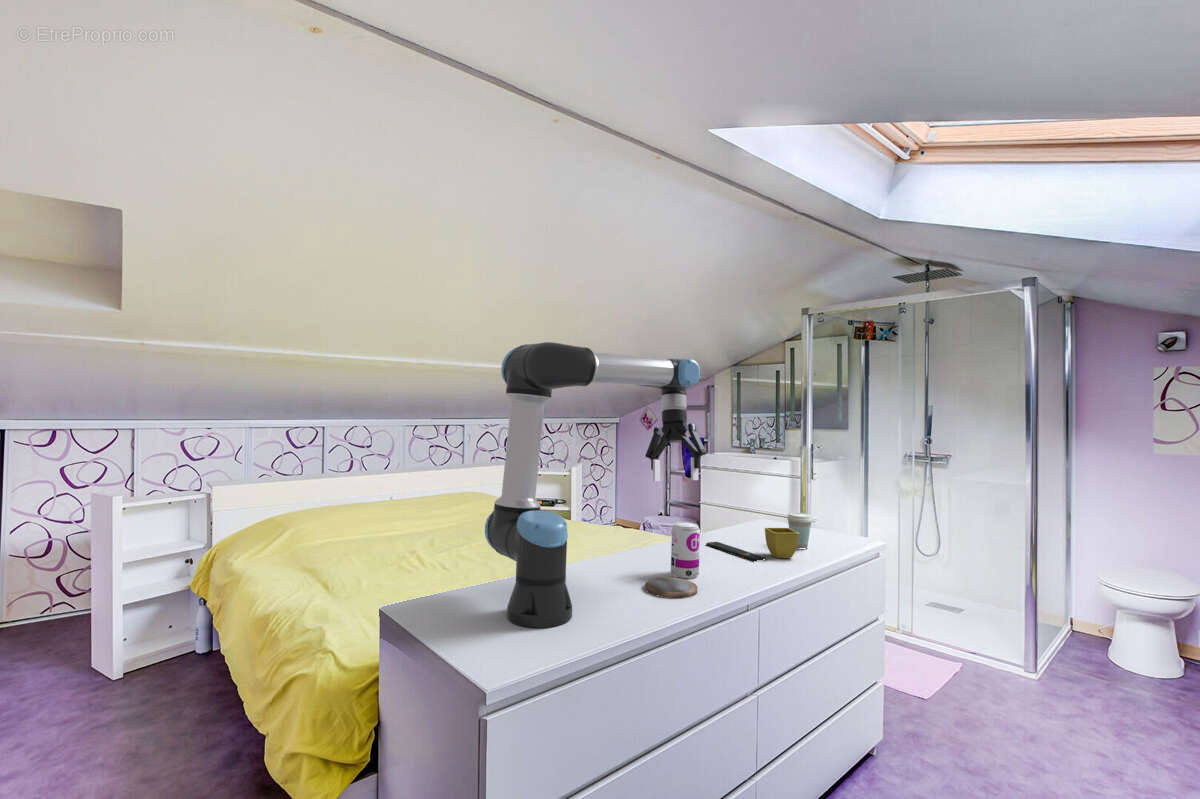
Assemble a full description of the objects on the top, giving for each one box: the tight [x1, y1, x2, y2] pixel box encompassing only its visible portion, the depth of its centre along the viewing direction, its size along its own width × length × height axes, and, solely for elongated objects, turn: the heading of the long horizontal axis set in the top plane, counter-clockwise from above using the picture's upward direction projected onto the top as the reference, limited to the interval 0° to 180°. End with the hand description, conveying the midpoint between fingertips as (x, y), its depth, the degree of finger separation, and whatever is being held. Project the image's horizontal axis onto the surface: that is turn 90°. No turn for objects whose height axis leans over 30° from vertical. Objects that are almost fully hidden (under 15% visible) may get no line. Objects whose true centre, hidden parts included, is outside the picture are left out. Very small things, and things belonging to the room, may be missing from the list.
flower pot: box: [764, 527, 799, 559], centre depth 195 cm, size 9×9×9 cm
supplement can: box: [670, 521, 701, 580], centre depth 170 cm, size 8×8×15 cm
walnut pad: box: [644, 576, 698, 599], centre depth 156 cm, size 14×14×1 cm
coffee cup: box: [786, 512, 813, 549], centre depth 208 cm, size 8×8×12 cm
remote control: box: [705, 541, 766, 562], centre depth 199 cm, size 5×24×1 cm, turn 30°
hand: (675, 480), depth 170 cm, fingers open, 13 cm apart
